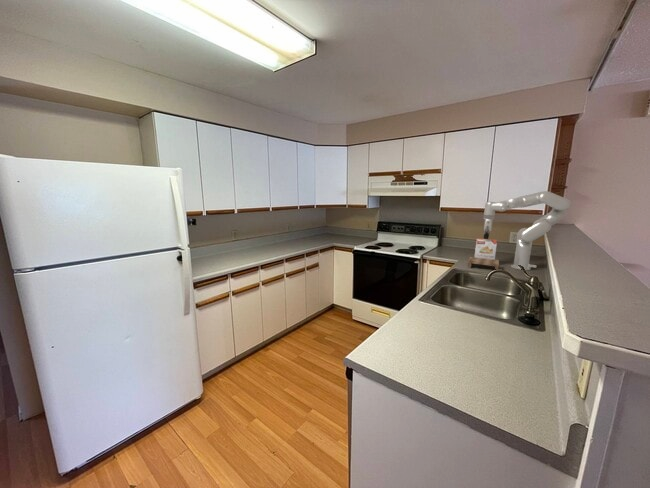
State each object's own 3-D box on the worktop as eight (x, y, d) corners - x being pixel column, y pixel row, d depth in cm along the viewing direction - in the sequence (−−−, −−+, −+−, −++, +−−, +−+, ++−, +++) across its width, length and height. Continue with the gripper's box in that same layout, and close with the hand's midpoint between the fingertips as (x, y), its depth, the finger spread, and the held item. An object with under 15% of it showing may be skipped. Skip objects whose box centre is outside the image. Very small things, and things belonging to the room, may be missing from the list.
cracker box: (474, 264, 220) (477, 239, 216) (473, 262, 225) (476, 238, 222) (494, 265, 215) (497, 240, 211) (492, 264, 221) (495, 239, 217)
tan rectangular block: (497, 267, 210) (498, 260, 209) (497, 271, 198) (498, 264, 197) (469, 263, 221) (470, 256, 220) (467, 267, 209) (468, 260, 208)
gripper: (494, 218, 204) (491, 240, 207) (494, 216, 218) (491, 237, 222) (482, 217, 208) (480, 239, 211) (484, 216, 222) (481, 236, 226)
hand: (486, 238), depth 216 cm, fingers open, 9 cm apart
